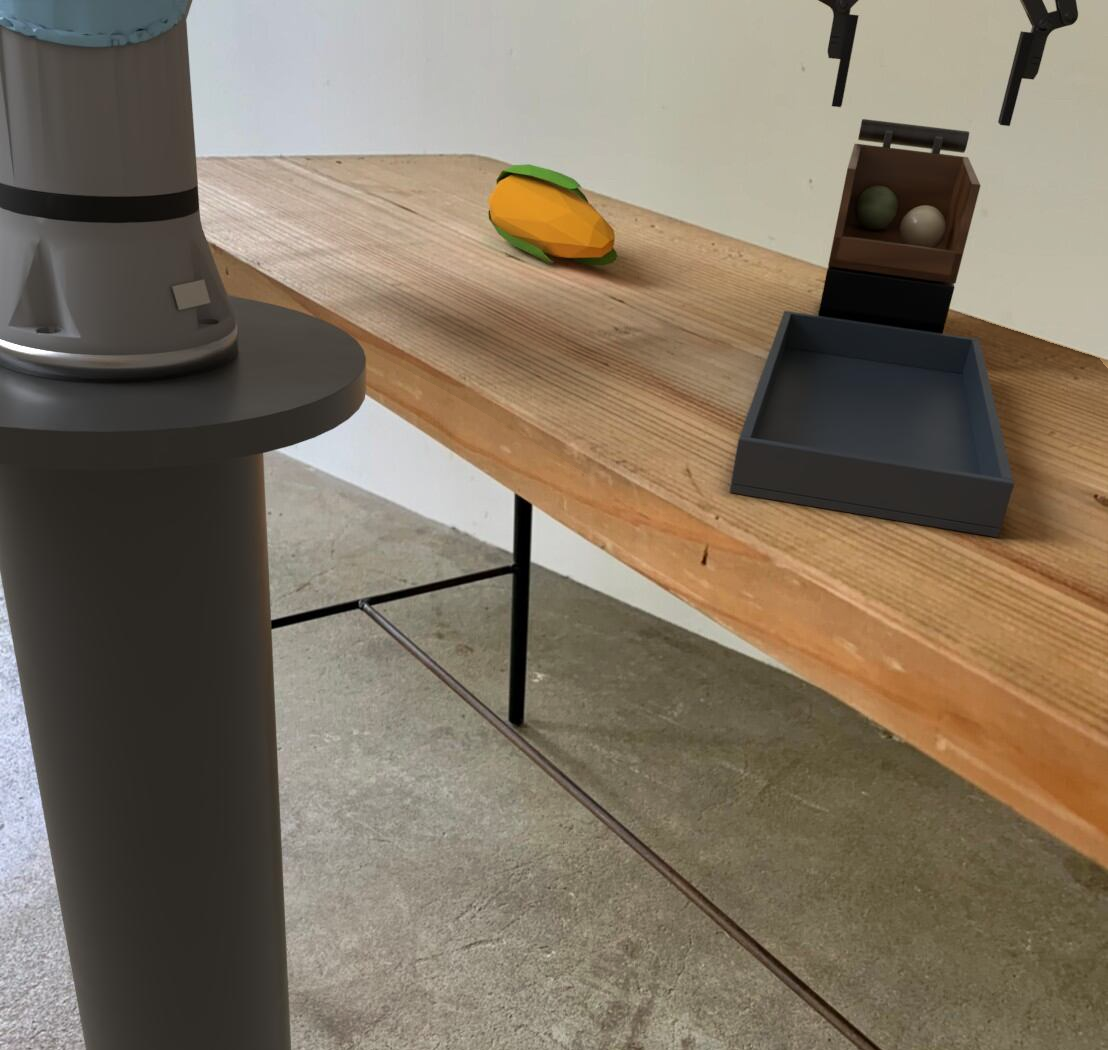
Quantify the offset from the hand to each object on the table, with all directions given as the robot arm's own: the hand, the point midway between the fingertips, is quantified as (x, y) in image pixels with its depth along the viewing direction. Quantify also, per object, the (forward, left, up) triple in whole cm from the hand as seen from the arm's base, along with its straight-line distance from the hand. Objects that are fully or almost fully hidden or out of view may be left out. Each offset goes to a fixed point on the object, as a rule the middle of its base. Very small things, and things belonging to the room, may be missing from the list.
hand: (919, 115), depth 100 cm
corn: (-21, -21, -15) cm, 34 cm away
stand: (+8, -8, -15) cm, 19 cm away
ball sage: (+2, -5, -7) cm, 9 cm away
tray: (+26, -27, -15) cm, 40 cm away
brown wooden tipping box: (+7, -7, -9) cm, 13 cm away
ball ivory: (+11, -8, -7) cm, 15 cm away
